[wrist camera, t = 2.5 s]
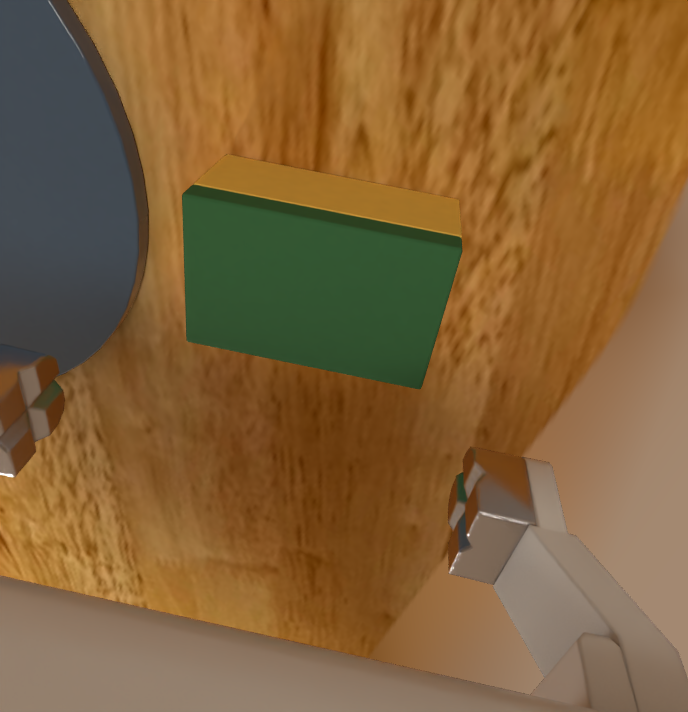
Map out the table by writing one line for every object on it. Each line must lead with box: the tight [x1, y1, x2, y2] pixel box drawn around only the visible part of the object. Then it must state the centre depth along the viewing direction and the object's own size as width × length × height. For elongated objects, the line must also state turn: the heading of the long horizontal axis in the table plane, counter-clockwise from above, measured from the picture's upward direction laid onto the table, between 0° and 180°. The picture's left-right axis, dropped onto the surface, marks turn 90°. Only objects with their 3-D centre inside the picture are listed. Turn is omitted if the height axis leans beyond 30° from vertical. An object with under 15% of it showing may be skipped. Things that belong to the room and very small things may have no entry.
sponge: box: [182, 154, 462, 389], centre depth 16 cm, size 7×4×4 cm, turn 81°
